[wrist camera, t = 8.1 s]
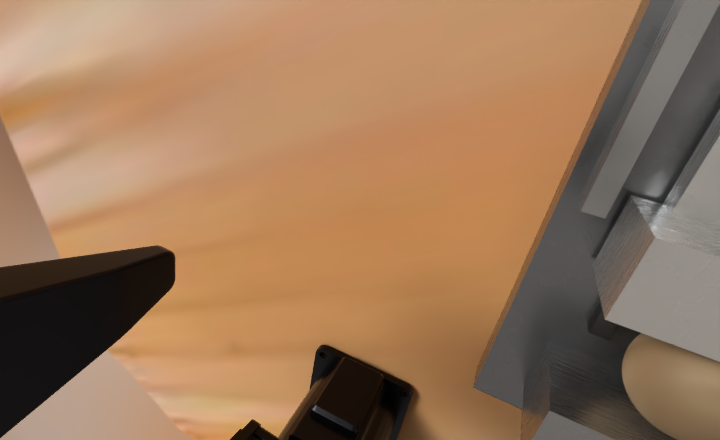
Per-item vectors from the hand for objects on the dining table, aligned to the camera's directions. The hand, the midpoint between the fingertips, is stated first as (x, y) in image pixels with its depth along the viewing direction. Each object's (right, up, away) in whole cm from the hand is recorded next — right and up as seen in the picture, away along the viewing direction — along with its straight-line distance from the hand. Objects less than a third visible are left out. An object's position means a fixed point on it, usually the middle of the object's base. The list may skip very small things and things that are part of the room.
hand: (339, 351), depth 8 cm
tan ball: (+13, -2, +7) cm, 15 cm away
